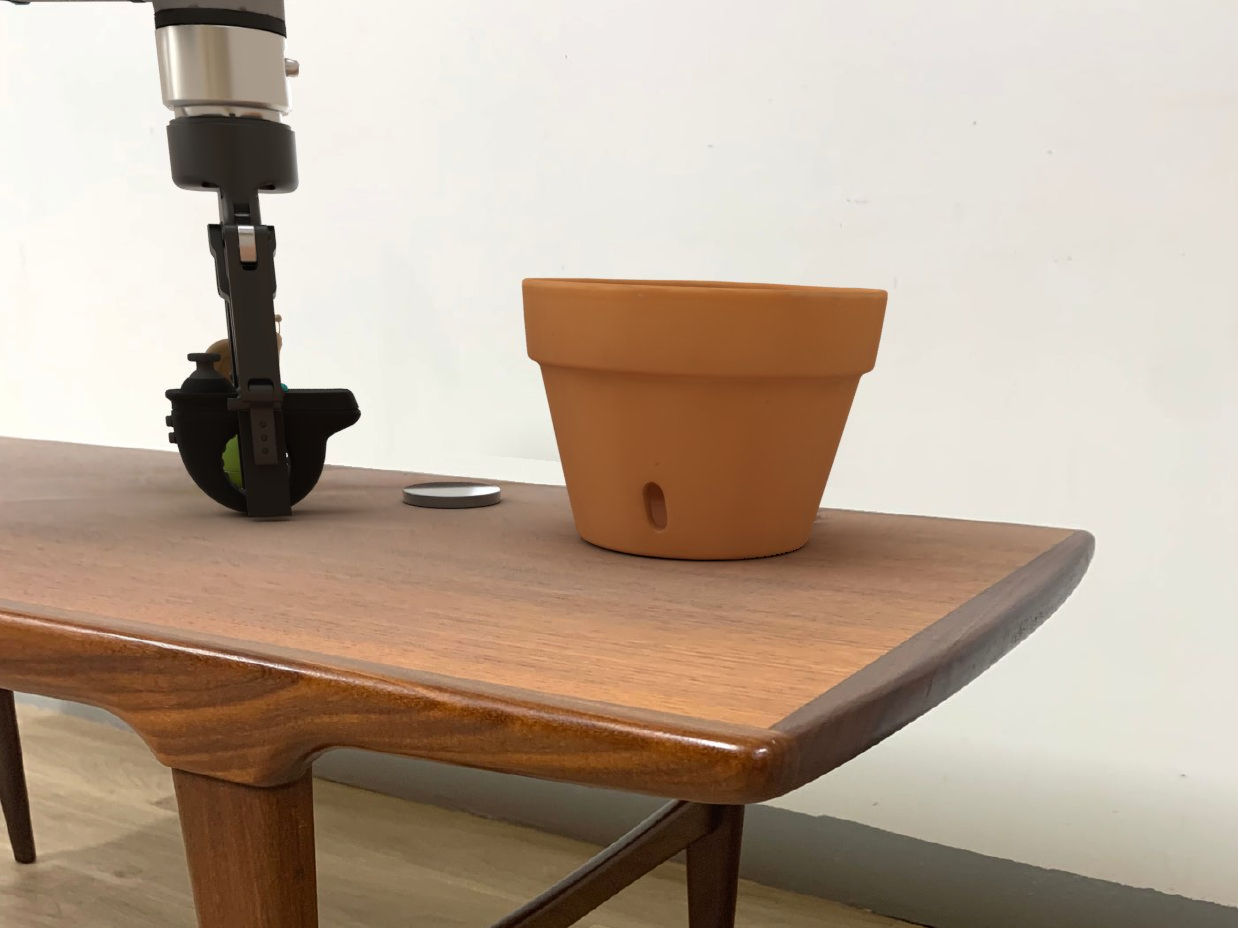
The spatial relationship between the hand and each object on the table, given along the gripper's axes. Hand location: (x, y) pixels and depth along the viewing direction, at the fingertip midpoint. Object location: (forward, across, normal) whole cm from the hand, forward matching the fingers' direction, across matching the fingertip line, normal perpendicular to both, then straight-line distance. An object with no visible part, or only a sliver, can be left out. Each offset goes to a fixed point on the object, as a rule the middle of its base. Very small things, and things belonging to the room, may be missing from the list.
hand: (266, 505), depth 88 cm
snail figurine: (+1, +10, 0) cm, 11 cm away
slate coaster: (0, +2, -13) cm, 13 cm away
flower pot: (+1, -16, -25) cm, 30 cm away
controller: (+1, -1, 0) cm, 1 cm away
